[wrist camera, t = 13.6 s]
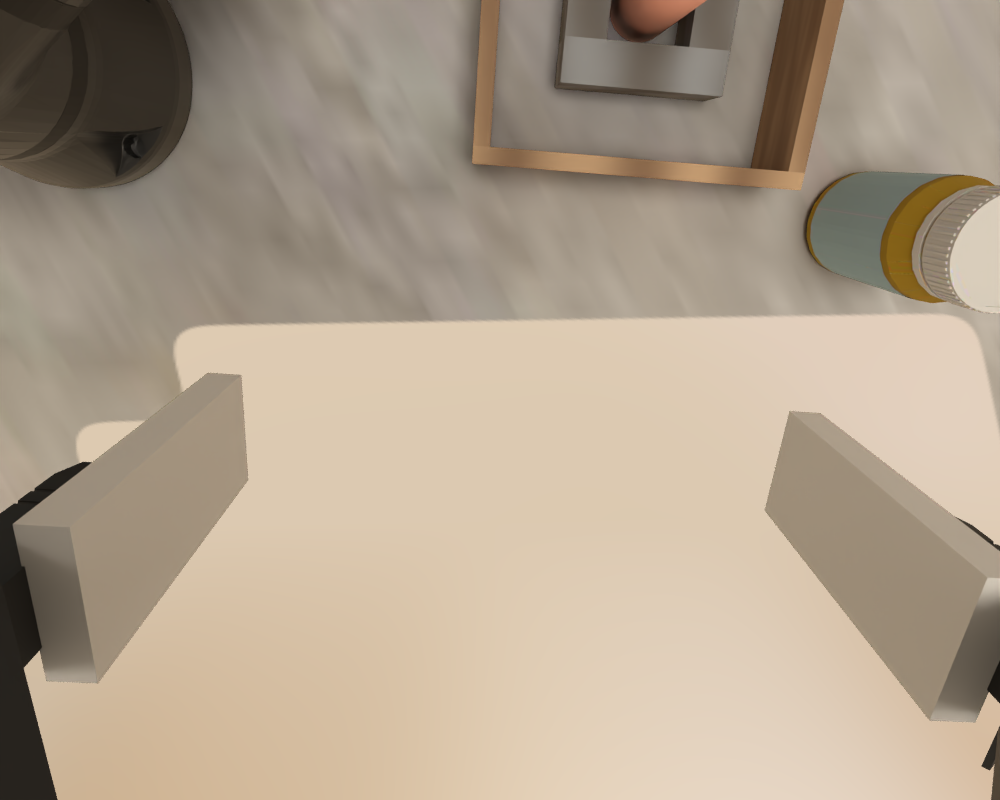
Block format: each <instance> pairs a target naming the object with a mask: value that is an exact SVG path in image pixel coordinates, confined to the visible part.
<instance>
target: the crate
mask: <svg viewBox="0 0 1000 800" xmlns="http://www.w3.org/2000/svg"><path fill="white" fill-rule="evenodd" d="M843 3H844V0H784V5H783V10H782V15H781V20H780V25H779V30H778V35H777V40H776V45H775V50H774V55H773V60H772V65H771V70H770V75H769V80H768V85H767V90H766V95H765V100H764V105H763V110H762V115H761V120H760V125H759V130H758V135H757V140H756V145H755V150H754V155H753V160H752V165H751V168H739V167H727V166H715V165H703V164H691V163H679V162H666V161H654V160H642V159H630V158H618V157H606V156H594V155H582V154H570V153H558V152H546V151H533V150H521V149H509V148H497V147H490V140H491V125H492V110H493V95H494V80H495V65H496V50H497V35H498V20H499V5H500V0H481V18H480V35H479V52H478V70H477V87H476V104H475V121H474V139H473V156H472V164H484V165H496V166H508V167H521V168H533V169H545V170H557V171H570V172H582V173H594V174H607V175H619V176H631V177H643V178H656V179H668V180H680V181H692V182H705V183H717V184H729V185H742V186H754V187H766V188H778V189H791V190H801V187H802V183H803V178H804V174H805V169H806V165H807V161H808V156H809V152H810V148H811V143H812V139H813V134H814V130H815V126H816V121H817V117H818V113H819V108H820V104H821V99H822V95H823V91H824V86H825V82H826V78H827V73H828V69H829V64H830V60H831V56H832V51H833V47H834V43H835V38H836V34H837V29H838V25H839V21H840V16H841V12H842V8H843ZM738 5H739V0H707V1H705V2H704V3H702V4H701V5H700V6H698V7H697V8H695V9H694V10H693V11H691V12H690V13H688V14H687V15H686V16H684V17H683V18H681V19H680V20H679V23H678V30H677V36H676V43H675V46H672V45H661V44H650V43H639V42H628V41H617V40H607V32H608V24H609V16H610V7H611V0H563V7H562V17H561V28H560V38H559V49H558V59H557V69H556V80H555V88H560V89H571V90H583V91H594V92H606V93H617V94H629V95H640V96H652V97H663V98H674V99H686V100H697V101H707V100H710V99H714V98H718V97H722V95H723V89H724V83H725V78H726V72H727V67H728V61H729V56H730V50H731V44H732V39H733V33H734V28H735V22H736V17H737V11H738Z"/></svg>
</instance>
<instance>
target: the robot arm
mask: <svg viewBox="0 0 1000 800" xmlns="http://www.w3.org/2000/svg"><path fill="white" fill-rule="evenodd" d="M191 95H192V73H191V64H190V59H189V53H188V49H187V45H186V42H185V39H184V36H183V33H182V30H181V27H180V25H179V23H178V20H177V18H176V16H175V14H174V12H173V10H172V8H171V6H170V5H169V3H168V1H167V0H0V165H1V166H4V167H6V168H8V169H10V170H12V171H15V172H17V173H19V174H21V175H24V176H26V177H28V178H31V179H33V180H36V181H39V182H42V183H46V184H50V185H55V186H60V187H67V188H99V187H110V186H116V185H121V184H125V183H128V182H131V181H133V180H136V179H138V178H140V177H142V176H144V175H146V174H147V173H149V172H150V171H152V170H153V169H154V168H156V167H157V166H158V165H159V164H160V163H161V162H163V160H164V159H165V158H166V157H167V156H168V155H169V154H170V152H171V151H172V150H173V148H174V147H175V145H176V144H177V142H178V140H179V138H180V136H181V134H182V132H183V130H184V127H185V124H186V121H187V118H188V114H189V110H190V104H191ZM246 455H247V454H246V440H245V425H244V410H243V395H242V380H241V375H233V374H218V373H207V374H206V375H204V376H203V377H202V378H201V379H199V380H198V381H197V382H196V383H194V384H193V385H191V386H190V387H189V388H188V389H186V390H185V391H184V392H182V393H181V394H180V395H179V396H177V397H176V398H175V399H173V400H172V401H171V402H170V403H168V404H167V405H166V406H164V407H163V408H162V409H161V410H159V411H158V412H157V413H155V414H154V415H153V416H151V417H150V418H149V419H148V420H146V421H145V422H144V423H142V424H141V425H140V426H139V427H137V428H136V429H135V430H133V431H132V432H131V433H130V434H128V435H127V436H126V437H125V438H123V439H122V440H120V441H119V442H118V443H117V444H115V445H114V446H113V447H111V448H110V449H109V450H108V451H106V452H105V453H104V454H102V455H101V456H100V457H99V458H97V459H96V460H95V461H93V462H82V463H79V464H77V465H74V466H72V467H70V468H67V469H65V470H62V471H60V472H58V473H55V474H54V475H52V476H51V477H50V478H48V479H47V480H45V481H44V482H43V483H41V484H40V485H39V486H37V487H36V488H35V490H34V491H30V492H29V493H28V494H26V495H25V496H24V497H22V498H21V499H20V500H18V504H13V505H11V506H10V507H9V508H7V509H6V510H5V511H3V512H2V513H0V800H57V796H56V792H55V788H54V785H53V780H52V777H51V773H50V769H49V765H48V761H47V757H46V753H45V749H44V745H43V742H42V738H41V734H40V730H39V726H38V722H37V718H36V715H35V711H34V707H33V703H32V699H31V695H30V691H29V687H28V684H27V680H26V676H25V672H24V667H25V666H26V665H27V664H28V662H29V661H30V660H31V659H32V658H33V657H34V656H35V655H36V654H37V653H38V651H39V650H40V654H41V659H42V663H43V668H44V672H45V676H46V681H56V682H79V683H99V681H100V680H101V679H102V677H103V676H104V675H105V673H106V672H107V670H108V669H109V668H110V666H111V665H112V664H113V662H114V661H115V660H116V658H117V657H118V656H119V654H120V653H121V652H122V650H123V649H124V648H125V646H126V645H127V643H128V642H129V641H130V639H131V638H132V637H133V635H134V634H135V633H136V631H137V630H138V629H139V627H140V626H141V624H142V623H143V622H144V620H145V619H146V618H147V616H148V615H149V614H150V612H151V611H152V610H153V608H154V607H155V606H156V604H157V603H158V601H159V600H160V599H161V597H162V596H163V595H164V593H165V592H166V591H167V589H168V588H169V586H170V585H171V584H172V583H173V581H174V580H175V578H176V577H177V576H178V574H179V573H180V572H181V570H182V569H183V568H184V566H185V565H186V563H187V562H188V561H189V559H190V558H191V557H192V555H193V554H194V553H195V551H196V550H197V549H198V547H199V546H200V545H201V543H202V542H203V541H204V539H205V538H206V536H207V535H208V534H209V532H210V531H211V530H212V528H213V527H214V525H215V524H216V523H217V521H218V520H219V519H220V518H221V516H222V515H223V513H224V512H225V511H226V509H227V508H228V507H229V505H230V504H231V503H232V501H233V500H234V499H235V497H236V496H237V494H238V493H239V492H240V490H241V489H242V488H243V486H244V485H245V484H246V482H247V481H248V471H247V470H248V469H247V456H246ZM765 511H766V513H767V514H768V515H769V517H770V518H771V519H772V520H773V522H774V523H775V524H776V525H777V526H778V528H779V529H780V531H781V532H782V533H783V534H784V536H785V537H786V538H787V540H789V542H790V543H791V545H792V546H793V547H794V548H795V550H796V551H797V552H798V554H799V555H800V556H801V557H802V559H803V560H804V561H805V562H806V564H807V565H808V566H809V568H810V569H811V570H812V571H813V573H814V574H815V575H816V576H817V578H818V579H819V580H820V582H821V583H822V584H823V585H824V587H825V588H826V589H827V590H828V592H829V593H830V594H831V596H832V597H833V598H834V599H835V601H836V602H837V603H838V604H839V606H840V607H841V608H842V610H843V611H844V612H845V613H846V614H847V616H848V617H849V618H850V620H851V621H852V622H853V624H854V625H855V626H856V627H857V629H858V630H859V631H860V632H861V634H862V635H863V636H864V638H865V639H866V640H867V641H868V643H869V644H870V645H871V647H872V648H873V649H874V650H875V652H876V653H877V654H878V655H879V656H880V658H881V659H882V660H883V662H884V663H885V664H886V666H887V667H888V668H889V669H890V671H891V672H892V673H893V675H894V676H895V677H896V678H897V680H898V681H899V682H900V683H901V685H902V686H903V687H904V689H905V690H906V691H907V692H908V694H909V695H910V696H911V698H912V699H913V700H914V701H915V703H916V704H917V705H918V706H919V708H920V709H921V710H922V712H923V713H924V714H925V715H926V717H927V718H928V719H929V720H932V721H953V722H976V719H977V717H978V715H979V713H980V710H981V708H982V706H983V703H984V701H985V699H986V697H987V694H988V692H990V693H991V694H992V696H993V697H994V698H996V700H997V701H998V702H999V703H1000V546H999V545H996V544H993V541H992V540H991V539H990V538H988V537H987V536H986V535H984V534H983V533H982V532H980V531H979V530H978V529H976V528H975V527H974V526H972V525H970V524H968V523H967V522H965V521H962V520H961V519H959V518H957V517H955V516H953V515H952V514H951V513H949V512H948V511H947V510H945V509H944V508H943V507H942V506H940V505H939V504H938V503H936V502H935V501H934V500H932V499H931V498H930V497H928V496H927V495H926V494H925V493H923V492H922V491H921V490H919V489H918V488H917V487H915V486H914V485H913V484H912V483H910V482H909V481H908V480H906V479H905V478H904V477H903V476H901V475H900V474H898V473H897V472H896V471H895V470H894V469H892V468H891V467H890V466H888V465H887V464H886V463H884V462H883V461H882V460H880V459H879V458H878V457H876V456H875V455H874V454H873V453H871V452H870V451H869V450H867V449H866V448H865V447H864V446H862V445H861V444H860V443H858V442H857V441H856V440H855V439H853V438H852V437H851V436H849V435H848V434H847V433H845V432H844V431H843V430H842V429H840V428H839V427H838V426H836V425H835V424H834V423H832V422H831V421H830V420H829V419H827V418H826V417H824V416H823V415H822V414H821V413H809V412H794V411H790V412H789V416H788V420H787V424H786V427H785V432H784V436H783V439H782V444H781V447H780V451H779V455H778V459H777V463H776V467H775V472H774V475H773V479H772V483H771V487H770V491H769V495H768V499H767V503H766V507H765ZM994 764H995V767H994V777H993V787H992V797H991V800H1000V727H999V729H998V731H997V734H996V736H995V738H994V740H993V742H992V744H991V747H990V749H989V751H988V753H987V755H986V757H985V760H984V762H983V764H982V767H984V768H986V769H988V770H990V769H991V768H992V767H993V765H994Z"/></svg>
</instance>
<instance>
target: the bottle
mask: <svg viewBox="0 0 1000 800" xmlns="http://www.w3.org/2000/svg"><path fill="white" fill-rule="evenodd" d="M807 242H808V245H809V249H810V252H811V254H812V255H813V257H814V258H815V259H816V261H817V262H818V263H819V264H820V265H821V266H823V267H824V268H826V269H828V270H829V271H832V272H834V273H836V274H839V275H842V276H845V277H848V278H851V279H854V280H857V281H860V282H863V283H866V284H869V285H872V286H875V287H878V288H881V289H884V290H887V291H890V292H893V293H896V294H899V295H902V296H905V297H908V298H911V299H915V300H919V301H924V302H929V303H938V302H950V303H952V304H955V305H958V306H962V307H965V308H968V309H971V310H974V311H978V312H982V313H983V312H985V313H1000V186H998V185H996V186H995V185H993V184H992V183H991V182H989V181H987V180H985V179H982V178H978V177H973V176H965V175H950V174H924V173H898V172H860V173H853V174H850V175H848V176H846V177H843V178H841V179H839V180H837V181H836V182H834V183H833V184H832V185H831V186H830V187H828V188H827V189H826V190H825V191H824V192H823V193H822V194H821V196H820V197H819V198H818V200H817V201H816V203H815V204H814V206H813V208H812V211H811V213H810V216H809V219H808V223H807Z"/></svg>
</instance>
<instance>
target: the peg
mask: <svg viewBox="0 0 1000 800" xmlns="http://www.w3.org/2000/svg"><path fill="white" fill-rule="evenodd" d="M705 1H707V0H611V7H610V18H611V22H612V24H613V26H614V28H615V30H616V31H617V32H618V34H619V35H621V36H622V37H623V38H625V39H626V40H628V41H631V42H646V41H649V40H651V39H653V38H655V37H656V36H658V35H659V34H661V33H662V32H663V31H665V30H666V29H668V28H669V27H670V26H672V25H673V24H674V23H676V22H677V21H679V20H680V19H681V18H683V17H684V16H686V15H687V14H688V13H690V12H691V11H693V10H694V9H695V8H697V7H698V6H700V5H701V4H702V3H704V2H705Z"/></svg>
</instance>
